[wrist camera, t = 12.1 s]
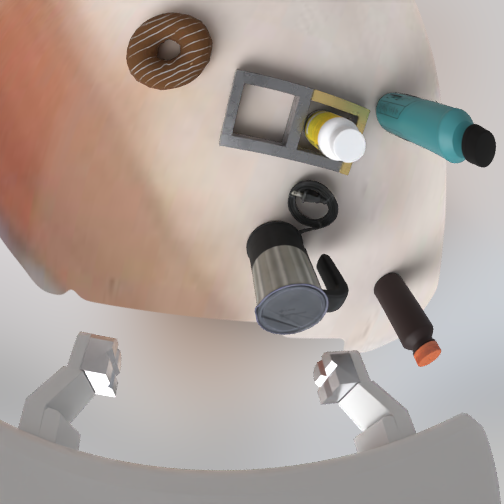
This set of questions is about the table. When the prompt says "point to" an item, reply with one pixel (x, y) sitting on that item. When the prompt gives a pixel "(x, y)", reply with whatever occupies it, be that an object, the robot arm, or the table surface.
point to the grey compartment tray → (294, 123)
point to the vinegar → (407, 318)
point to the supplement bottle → (334, 136)
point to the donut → (179, 68)
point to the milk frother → (294, 268)
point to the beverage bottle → (436, 128)
